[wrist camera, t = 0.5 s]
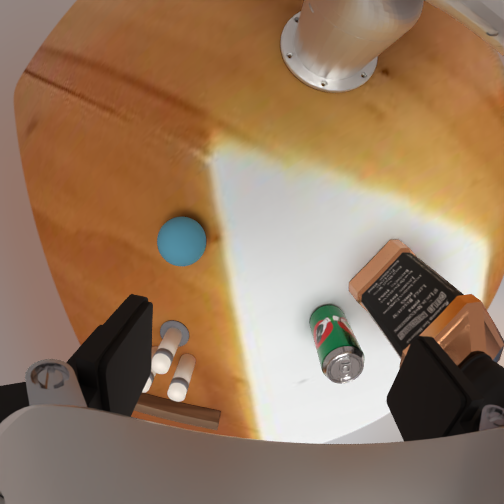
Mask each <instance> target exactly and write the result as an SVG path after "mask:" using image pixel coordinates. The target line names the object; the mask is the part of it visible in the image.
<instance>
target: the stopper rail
mask: <svg viewBox="0 0 504 504" xmlns="http://www.w3.org/2000/svg"><path fill="white" fill-rule="evenodd" d="M134 410H135V411H138V412H142V413H145V414H149V415H152V416H156V417H160V418H164V419H168V420H172V421H176V422H180V423H184V424H189V425H193V426H198V427H203V428H208V429H213V430H217V429H218V424H219V418H220V412H221V411H219V410H214V409H208V408H204V407H199V406H194V405H190V404H185V403H181V402H177V401H172V400H168V399H164V398H160V397H157V396H153V395H149V394H145V393H141V395H140V397H139V400H138V402H137V404H136V406H135V408H134Z"/></svg>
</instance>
